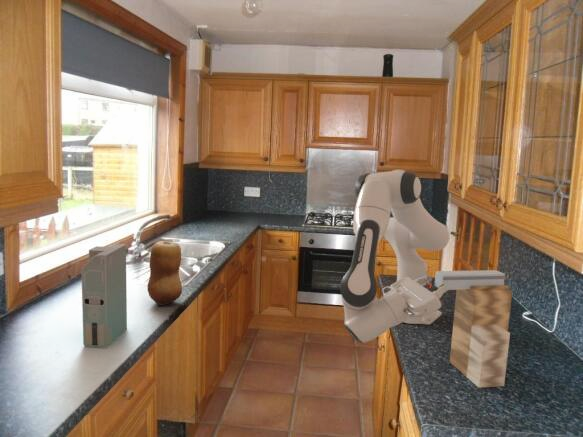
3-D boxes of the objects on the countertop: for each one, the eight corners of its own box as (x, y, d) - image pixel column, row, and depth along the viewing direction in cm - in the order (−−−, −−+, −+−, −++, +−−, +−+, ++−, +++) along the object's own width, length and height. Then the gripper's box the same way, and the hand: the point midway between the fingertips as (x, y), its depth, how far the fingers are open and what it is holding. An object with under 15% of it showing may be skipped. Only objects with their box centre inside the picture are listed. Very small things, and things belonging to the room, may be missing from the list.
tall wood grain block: (478, 387, 145) (488, 296, 140) (449, 362, 160) (457, 279, 156) (516, 385, 147) (527, 294, 143) (483, 360, 163) (492, 278, 159)
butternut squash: (184, 307, 200) (184, 245, 196) (149, 310, 195) (148, 246, 191) (178, 296, 213) (178, 238, 209) (145, 299, 208) (144, 239, 204)
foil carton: (441, 290, 147) (443, 275, 147) (434, 285, 152) (435, 271, 151) (503, 288, 152) (505, 274, 151) (494, 284, 156) (496, 270, 155)
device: (105, 327, 177) (103, 242, 172) (127, 328, 177) (126, 244, 172) (83, 346, 161) (80, 253, 156) (107, 348, 160) (105, 255, 155)
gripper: (408, 309, 137) (451, 283, 139) (380, 286, 157) (418, 264, 158) (418, 328, 139) (460, 302, 140) (388, 303, 159) (426, 280, 160)
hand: (437, 282), depth 149 cm, fingers open, 8 cm apart
